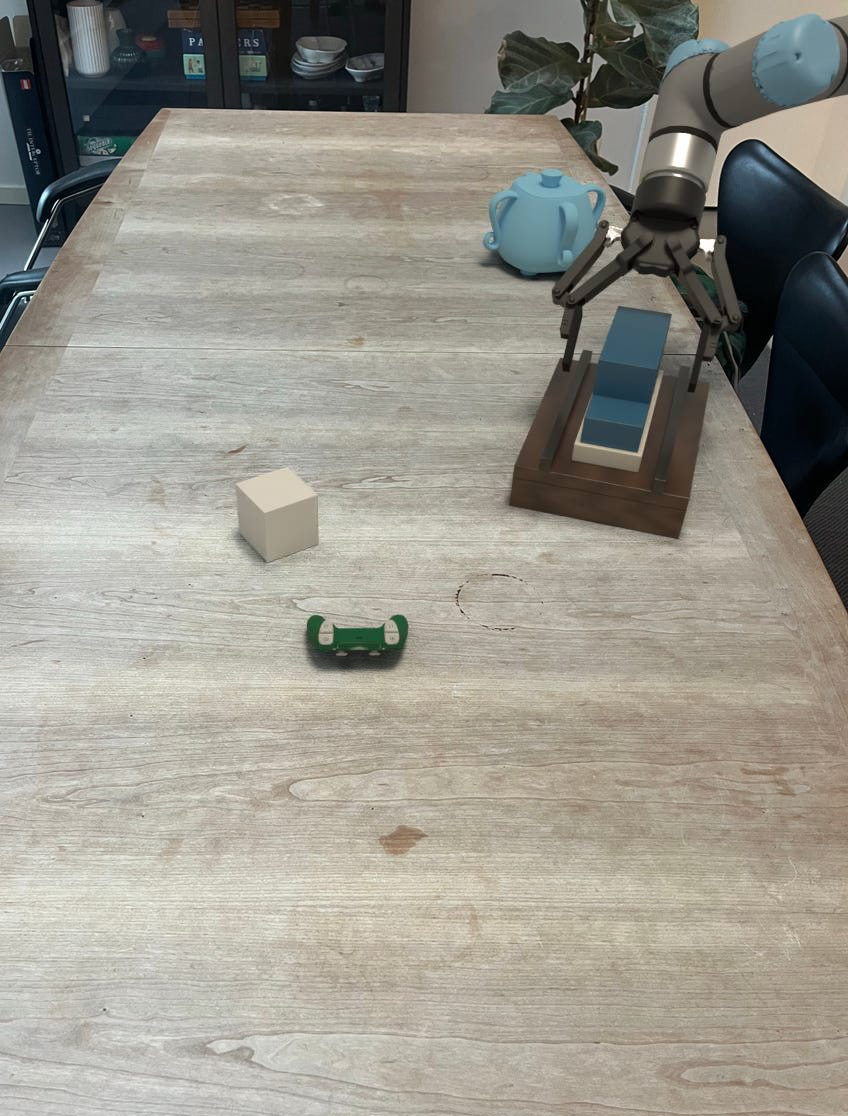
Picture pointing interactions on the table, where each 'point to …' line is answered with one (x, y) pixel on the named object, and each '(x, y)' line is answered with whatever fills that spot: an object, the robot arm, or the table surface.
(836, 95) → the robot arm
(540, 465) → the shoe shelf
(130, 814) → the table surface
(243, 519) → the beige cube
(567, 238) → the decorative pot
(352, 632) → the gaming controller
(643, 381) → the trainer
